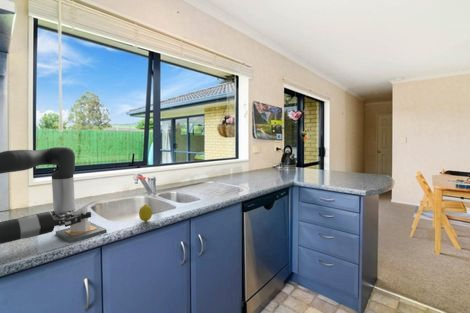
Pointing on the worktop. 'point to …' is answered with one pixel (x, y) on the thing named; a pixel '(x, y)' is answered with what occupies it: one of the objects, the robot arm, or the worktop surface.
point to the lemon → (145, 213)
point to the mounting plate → (80, 233)
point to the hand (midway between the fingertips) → (87, 213)
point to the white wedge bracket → (84, 223)
